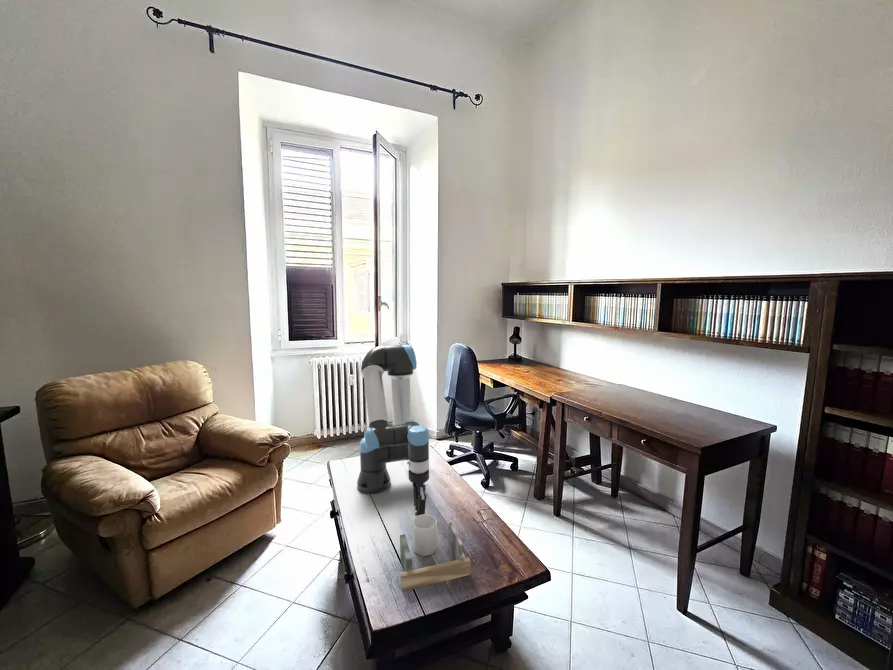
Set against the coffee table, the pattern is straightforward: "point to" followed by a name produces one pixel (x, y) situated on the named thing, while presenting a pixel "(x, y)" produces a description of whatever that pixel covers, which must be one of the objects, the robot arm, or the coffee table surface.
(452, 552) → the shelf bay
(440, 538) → the coffee table surface
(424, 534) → the mug
